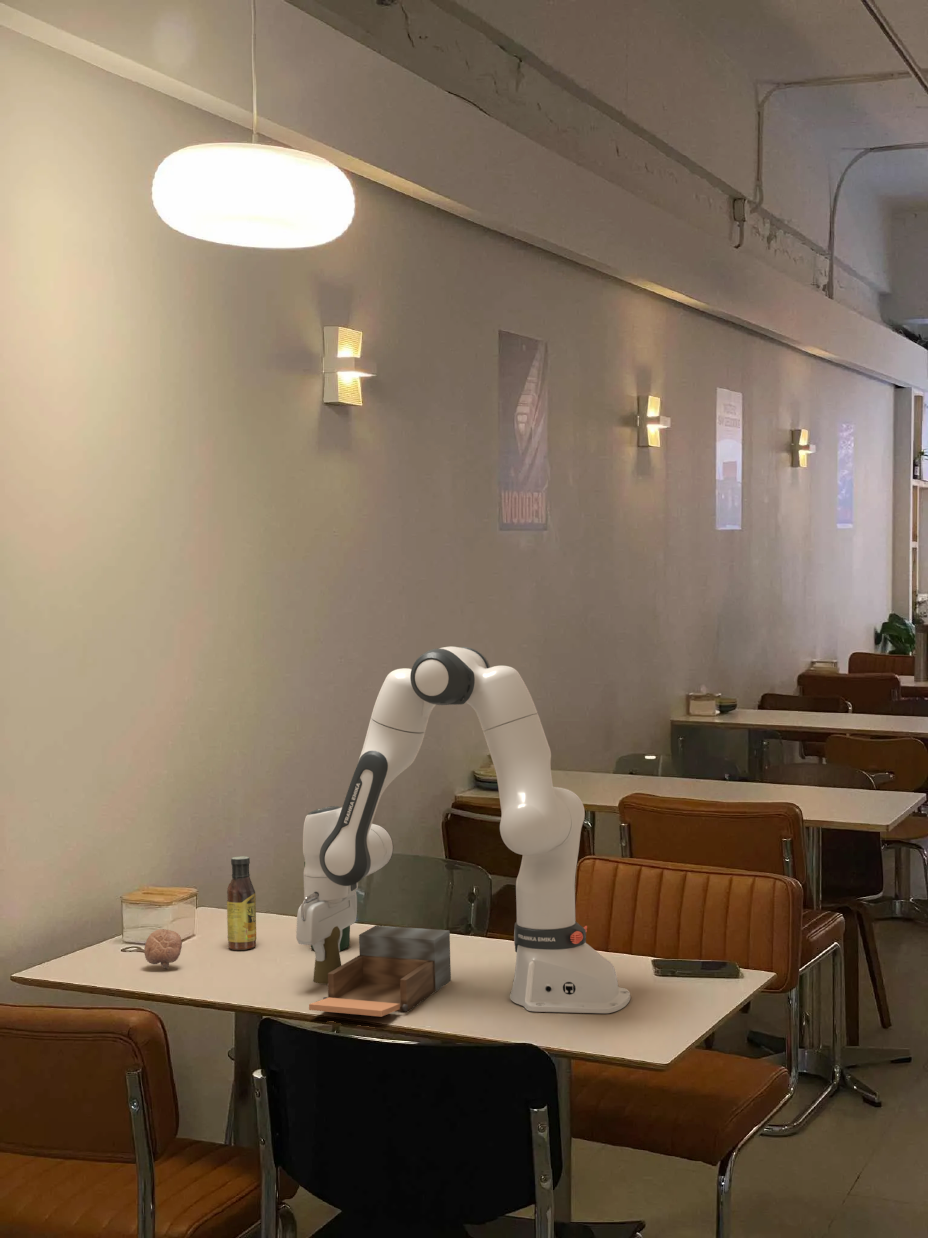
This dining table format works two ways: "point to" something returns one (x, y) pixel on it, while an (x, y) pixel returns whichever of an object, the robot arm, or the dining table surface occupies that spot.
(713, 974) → the dining table surface
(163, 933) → the brown rounded lump
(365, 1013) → the wooden board
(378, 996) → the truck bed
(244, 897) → the sauce bottle
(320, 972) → the cork
